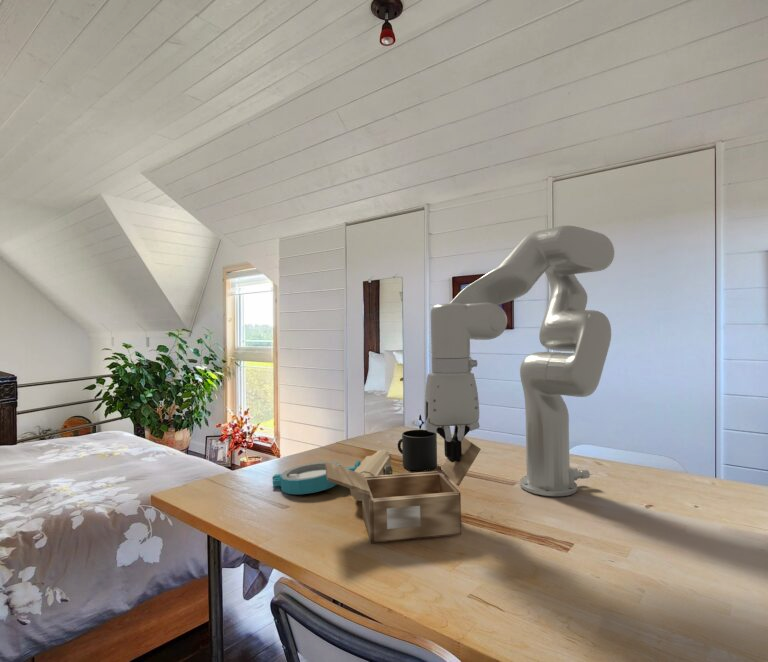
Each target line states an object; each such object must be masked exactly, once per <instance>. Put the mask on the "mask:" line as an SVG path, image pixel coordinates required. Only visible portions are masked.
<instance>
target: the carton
mask: <svg viewBox="0 0 768 662" xmlns="http://www.w3.org/2000/svg"><path fill="white" fill-rule="evenodd" d="M365 480H366V482H367V485H368V488H369V490H370V493H369V495H368V494H365V493H362V501H361V502H362V503H361V504H362V505H361V506H362V518H363V522H364V525H365V529H366V532H367V535H368V540H369V543H370V544H377V543H385V542H396V541H406V540H417V539H427V537H428V539H429V538H436V536H439V537H446V536H447V535H449V536H457V535H458V534H459V535H462V503H461V500H462V499H461V492H460V490H458V488H456V486H455V485H454V483H452V482H451V481H450V480H449V479H448V478H447V477H446V476H445V474H443V472H439V471H438V470H434V471H433V470H432V471H418V472H410V473H409V472H407V473H394V474H393V473H392V475H379V476H365ZM447 537H448V536H447Z"/></svg>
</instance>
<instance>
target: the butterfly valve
mask: <svg viewBox="0 0 768 662" xmlns="http://www.w3.org/2000/svg"><path fill="white" fill-rule="evenodd" d="M326 462H327V461H319V462H312V463H307V464H306V463H305V464H302V465H298V466H294V467H292V468H290V469H287V470H285V471H283V472H282V473H276V474H274V475H273V476H272V478H271V479H272V487H274V488H275V487H280V490H281V491H282V492H283V493H285V494H288V495H305V494H306V495H307V494H314V493H317V492H322V491H325V490H329V489H331V488H333V487H335V486H337V485H338V484H335V483H332V482H329V481H327V476H326V468H325V463H326ZM328 462H329V463H332V464H335V465H338V466H341V464H340V463H339V462H335V461H328ZM391 462H392V456H391V454H390V452H389V451H388V450H386V449H379V450H378V451H375V453H373V454H372V455H365V457H364V458H363V459H362V461H360V460H356V461H355V463H354V466H347V467H344V468H346V469H349V470H352V471H355V472H358V473H361V474H364V477H365V476H379V475H392V474H393V471H394V470H393V468H392V464H391ZM349 491H350V495H351V496H352V498H353V499H354V500H355V501H358V502H362V492H359V491H356V490H353V489H350V488H349Z"/></svg>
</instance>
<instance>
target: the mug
mask: <svg viewBox="0 0 768 662" xmlns="http://www.w3.org/2000/svg"><path fill="white" fill-rule="evenodd" d="M437 434H438V433H433V432H428V431H427V430H426V429H411V430H405V431H404V432H402V434H401V438H400V439H399V440H398V442H397V449H398V451H399V453H400V454H401V455H402V467H403V468H404V467H405V468H404V469H406V468H407V469H406V470H408V469H410V470H409V471H412V470H416V471H415V472H423V471H422V470H428V471H432V470H434V468H435V469H436V468H437V467H438V440H437V439H438V438H437ZM401 445H402V446H401ZM431 469H432V470H431Z"/></svg>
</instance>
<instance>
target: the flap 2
mask: <svg viewBox="0 0 768 662" xmlns="http://www.w3.org/2000/svg"><path fill="white" fill-rule="evenodd" d="M461 447H462V455H461V456H460V461H459V462H456V461H454V462H450V461H449V460H448V459H447V458H446V460H445V461H444V462H443V464H442V466H441V467H440V469H441V471H442V472H443V473H444V475H446V476H447V477H448V478H449V479H450V480H451V481H452V482H453V484H455V485H456V486H457V487H460V485H461V484H462V481H464V478H465V476H466V475H467V473H468V471H469V469H470V468H471V467H472V465H473V463H474V461H475V460H476V458H477V457H478V456H479V454H480V451H481V448H480V447H479V446H477V445H476V444H475V443H473V442H472V441H470V440H469V439H468V438H466V437H464V439H463V440H462V441H461Z"/></svg>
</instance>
